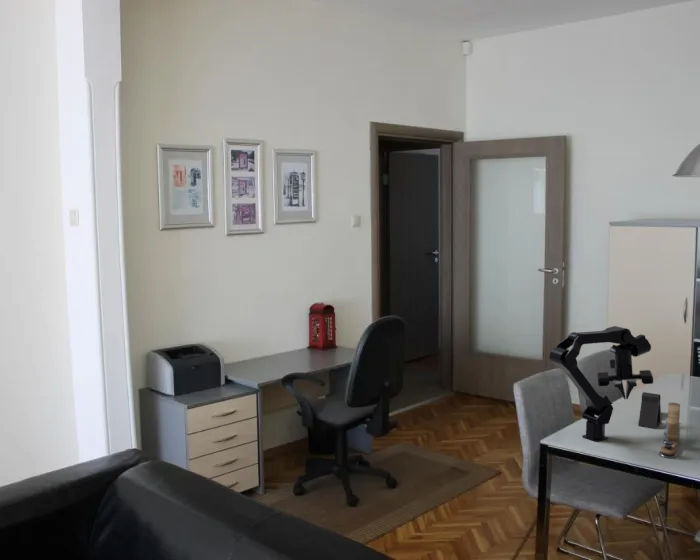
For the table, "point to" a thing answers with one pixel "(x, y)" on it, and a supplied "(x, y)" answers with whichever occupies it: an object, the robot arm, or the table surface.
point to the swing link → (672, 428)
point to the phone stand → (650, 411)
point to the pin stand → (668, 445)
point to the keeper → (666, 430)
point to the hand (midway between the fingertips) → (625, 398)
